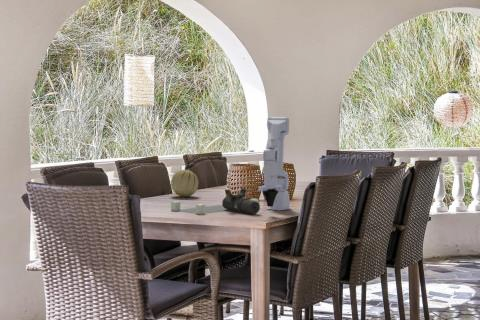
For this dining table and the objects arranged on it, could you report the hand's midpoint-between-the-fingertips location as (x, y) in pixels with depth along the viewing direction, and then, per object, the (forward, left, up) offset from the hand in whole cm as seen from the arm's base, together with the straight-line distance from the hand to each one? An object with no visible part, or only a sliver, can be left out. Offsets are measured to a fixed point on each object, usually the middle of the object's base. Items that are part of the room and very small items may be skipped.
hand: (270, 206), depth 366 cm
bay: (0, -34, -4) cm, 34 cm away
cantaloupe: (-27, -82, -4) cm, 86 cm away
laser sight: (0, -18, -4) cm, 18 cm away
